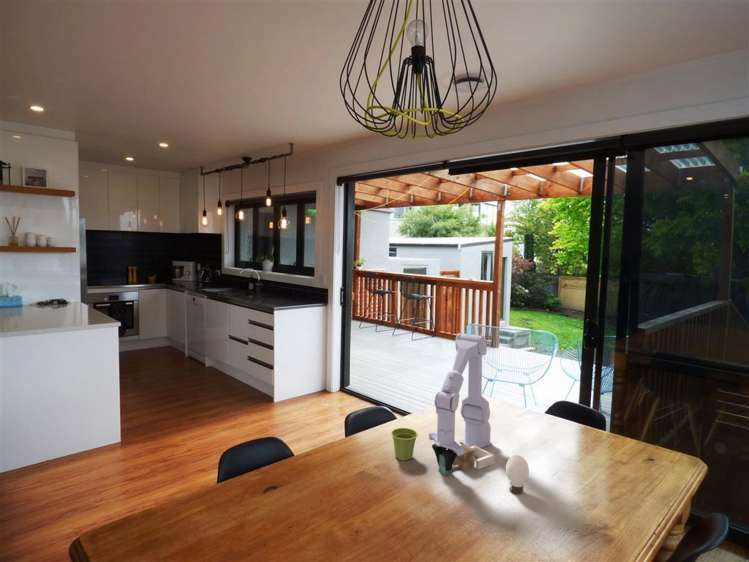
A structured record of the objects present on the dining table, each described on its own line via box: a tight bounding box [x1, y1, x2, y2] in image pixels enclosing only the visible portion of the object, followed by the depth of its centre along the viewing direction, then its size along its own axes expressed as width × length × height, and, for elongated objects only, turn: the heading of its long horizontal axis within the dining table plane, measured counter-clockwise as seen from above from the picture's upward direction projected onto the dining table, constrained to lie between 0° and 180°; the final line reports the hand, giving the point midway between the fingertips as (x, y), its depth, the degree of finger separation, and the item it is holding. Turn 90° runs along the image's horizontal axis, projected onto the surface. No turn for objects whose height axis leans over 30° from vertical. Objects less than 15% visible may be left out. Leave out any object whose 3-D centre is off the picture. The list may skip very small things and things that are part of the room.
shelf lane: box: [471, 445, 495, 470], centre depth 154 cm, size 8×9×3 cm
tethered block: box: [438, 444, 476, 476], centre depth 148 cm, size 12×5×6 cm, turn 124°
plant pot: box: [390, 427, 419, 462], centre depth 156 cm, size 9×9×9 cm
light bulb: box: [505, 454, 530, 495], centre depth 135 cm, size 7×7×11 cm
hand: (444, 467), depth 146 cm, fingers closed on tethered block, 3 cm apart
